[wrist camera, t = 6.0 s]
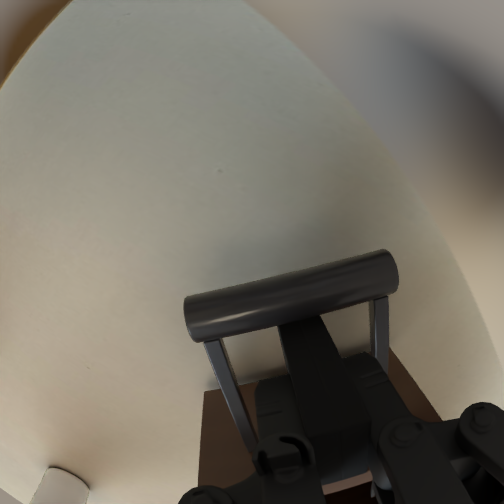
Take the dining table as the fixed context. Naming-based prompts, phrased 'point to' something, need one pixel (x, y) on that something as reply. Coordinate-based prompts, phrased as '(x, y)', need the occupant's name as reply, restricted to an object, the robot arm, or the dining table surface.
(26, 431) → the dining table surface
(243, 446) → the drawer
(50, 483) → the drinking glass
